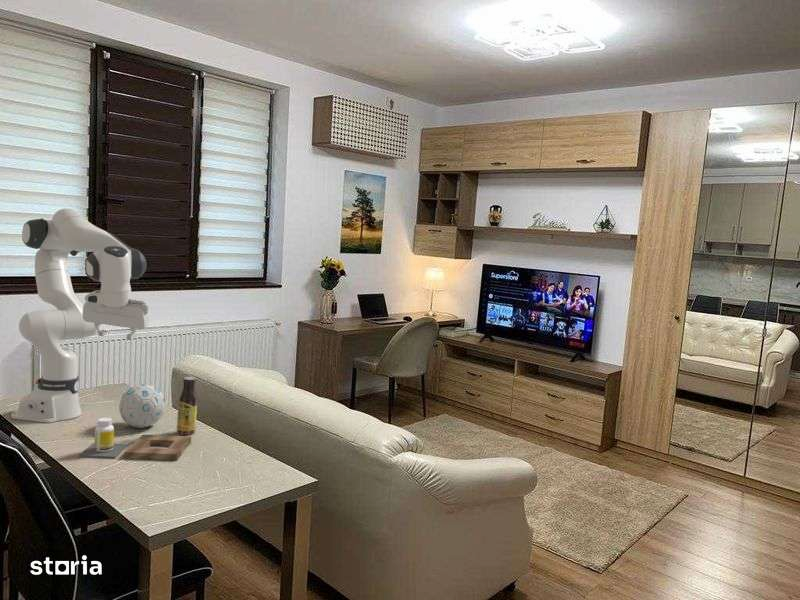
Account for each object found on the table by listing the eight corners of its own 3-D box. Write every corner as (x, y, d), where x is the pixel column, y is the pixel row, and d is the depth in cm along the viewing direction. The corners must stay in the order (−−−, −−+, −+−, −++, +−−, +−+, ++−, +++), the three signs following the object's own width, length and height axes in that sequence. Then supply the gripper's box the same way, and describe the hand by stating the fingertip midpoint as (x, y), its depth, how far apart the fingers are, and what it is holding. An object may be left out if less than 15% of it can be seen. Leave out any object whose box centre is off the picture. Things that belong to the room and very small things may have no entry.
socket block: (124, 458, 189) (124, 452, 188) (142, 440, 204) (142, 434, 204) (177, 460, 190) (177, 454, 190) (191, 442, 206) (191, 436, 205)
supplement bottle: (117, 448, 195) (118, 418, 194) (104, 453, 190) (105, 423, 188) (103, 445, 196) (103, 415, 195) (90, 450, 191) (90, 420, 190)
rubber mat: (78, 457, 187) (78, 455, 187) (93, 444, 198) (93, 442, 198) (115, 458, 188) (115, 456, 188) (128, 445, 199) (128, 444, 199)
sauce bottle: (172, 433, 213) (174, 377, 211) (186, 428, 218) (188, 374, 216) (186, 437, 210) (188, 381, 208) (200, 432, 215) (202, 377, 213)
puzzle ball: (160, 417, 228) (161, 378, 227) (168, 430, 216) (169, 389, 214) (116, 422, 220) (116, 381, 219) (121, 435, 208) (122, 392, 206)
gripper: (152, 299, 199) (151, 338, 203) (90, 290, 199) (90, 330, 203) (143, 304, 193) (143, 345, 197) (79, 295, 193) (80, 336, 197)
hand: (115, 337), depth 200 cm, fingers open, 8 cm apart
